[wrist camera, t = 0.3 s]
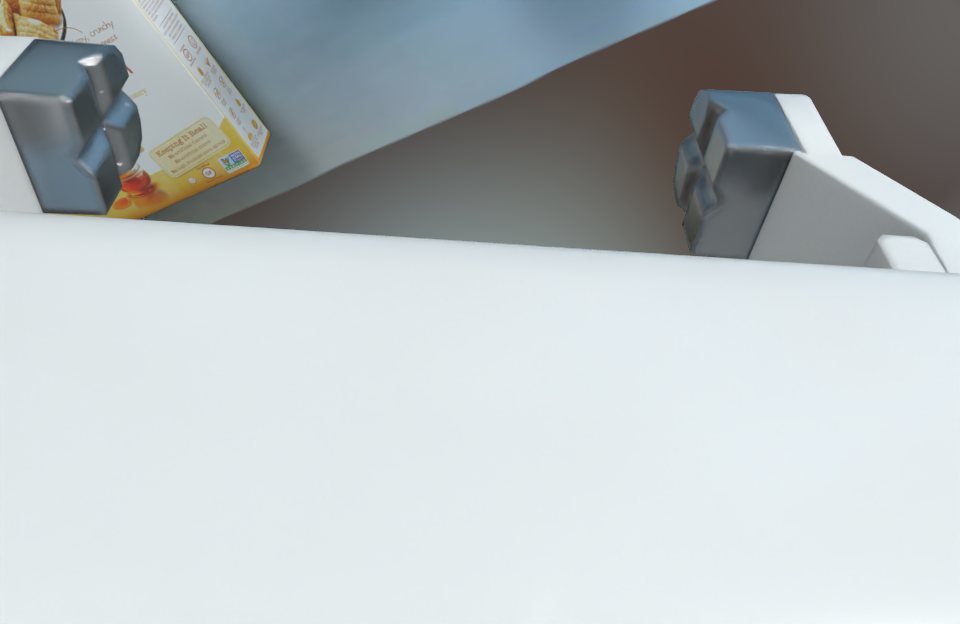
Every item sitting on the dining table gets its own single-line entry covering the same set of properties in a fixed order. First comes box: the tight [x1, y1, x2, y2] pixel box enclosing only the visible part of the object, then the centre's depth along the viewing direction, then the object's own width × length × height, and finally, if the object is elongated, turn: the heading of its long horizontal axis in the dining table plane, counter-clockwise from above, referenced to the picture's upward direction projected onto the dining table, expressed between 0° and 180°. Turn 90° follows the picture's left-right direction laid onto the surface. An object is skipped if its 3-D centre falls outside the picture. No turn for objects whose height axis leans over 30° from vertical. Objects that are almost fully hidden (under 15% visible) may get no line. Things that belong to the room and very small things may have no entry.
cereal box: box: [0, 0, 270, 220], centre depth 58 cm, size 20×6×28 cm
